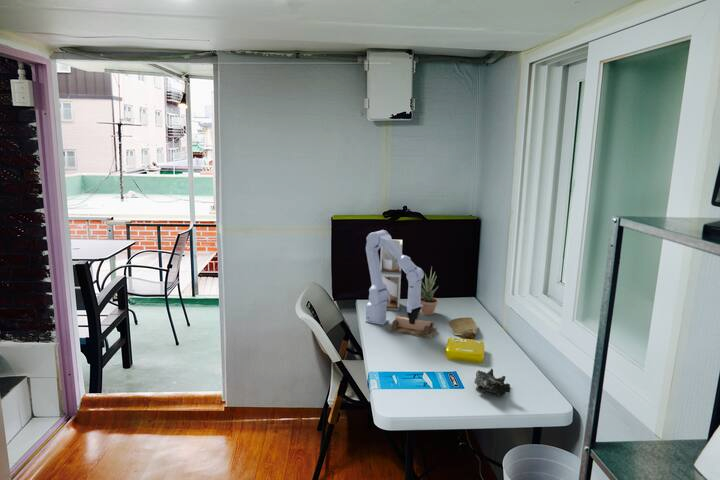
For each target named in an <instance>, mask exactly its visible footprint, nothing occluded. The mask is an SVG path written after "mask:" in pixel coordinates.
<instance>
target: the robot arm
mask: <svg viewBox="0 0 720 480" xmlns="http://www.w3.org/2000/svg"><path fill="white" fill-rule="evenodd" d="M392 238H393V237H392V236H391V234H390V233H389V232H388V231H387V230H386V229H385V230H384V229H381V230H378V231H374V232H372V231H371V232H370V233H368V235H367V236H366V238H365V239H366V243H365V253H366V259H367V264H368V270H369V275H370V282H371V286H370V287H369V289H368V292H369V293H368V294H369V295H368V301H369V302H367V304H366V307H365V320H364V321H365V322H366V323H370V324H376V325H382V326H384V325H385V324H386V323H387V322H388V321H389V320H390V319H389V318H387V310H386V308H387V300H388V299H389V297H390V293H389V291H388V289H387V286H386V285H385V284H384V283H383V279H382V273H381V267H380V255H379V250H380V249H381V247H384V248H387V249H388V250H389V251H390V252H391V253H392V255H393V256H394V257H395V258H396V259H397V260H398V265H399V266H400V267H401V271H403V272H404V273H405V276H406V280H407V283H408V284H407V285H408V289H407V303H406V306H407V307H406V309H405V312H406V314H407V318H409V323H410V324H414V323H415V319H417V320H418V318H419V314H420V312H421V311H422V310H421V307H422V306H423V305H422V304H420V302H421V300H420V299H421V297H422V295H421V294H422V292H421V291H422V290H421V289H422V281H421V280H423V279H424V277H425V272H424V270H423V269H422V268H421V267H419V266H417V265H416V264H415V263H414V262H413V261H412V259H411V257H410V256H408V255H405V254H403V252H402V253H401V251H400V250H399V249H398V247H397V246H396V245H395V243H394V242H393V241H392Z"/></svg>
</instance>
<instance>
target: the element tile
mask: <svg viewBox="0 0 720 480" xmlns="http://www.w3.org/2000/svg"><path fill="white" fill-rule="evenodd" d="M484 357H485V342H484V341H483V340H479V339H473V340H472V339H463V338H461V337H453V336H452V337H451V336H450V337H448V338H447V343H446V349H445V359H446V360H449V361H456V362H461V363H462V362H463V363H473V364H479V365H480V364H483V363H484V360H485V359H484Z"/></svg>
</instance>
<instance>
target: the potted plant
mask: <svg viewBox="0 0 720 480" xmlns="http://www.w3.org/2000/svg"><path fill="white" fill-rule="evenodd" d="M432 270H433V266H431V269H430V274H429V277H427V274H426V273H425V272H424V277H425V278H424V282H423V279H421V285H422V287H421V299H420V300H421V302H420V304H422V305H423V306H422V307H421V310H420V311H421V314H423V315H426V316H431V315H434V313H435V310H436V307H437V305H438V303H439V300H438V298H436V297H434V294H435V292H436V291H437V290H438V288H439V285H438V286H436V288H434V289H433V287H434V285H435V283H436V279H437V277H438V276H437V275H436V276H435V274H436V271H434V273H433V275H432V272H433V271H432Z"/></svg>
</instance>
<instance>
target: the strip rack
mask: <svg viewBox="0 0 720 480" xmlns="http://www.w3.org/2000/svg"><path fill="white" fill-rule="evenodd" d="M399 316H400V315H399ZM400 317H403V316H400ZM429 322H430V326H425V327H424V331H421V330H415V329H409V328H404V327H398V321H396V320H395V319H394V320H393V321H392V322H391V325H390V326H389V327H388V329H387V330H388V331H389V332H395V333H401V334H403V335H411V336H417V337H422V338H427V339H431V338H432V337H433V336H434V335H435V333H436V332H437V327H434V321H431V320H429Z"/></svg>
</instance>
